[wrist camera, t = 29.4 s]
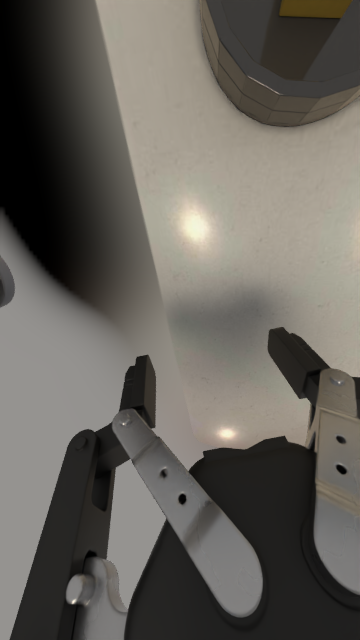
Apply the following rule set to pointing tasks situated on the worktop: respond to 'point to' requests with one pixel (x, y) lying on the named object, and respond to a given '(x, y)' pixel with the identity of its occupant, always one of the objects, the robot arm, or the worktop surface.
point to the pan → (282, 59)
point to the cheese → (314, 8)
